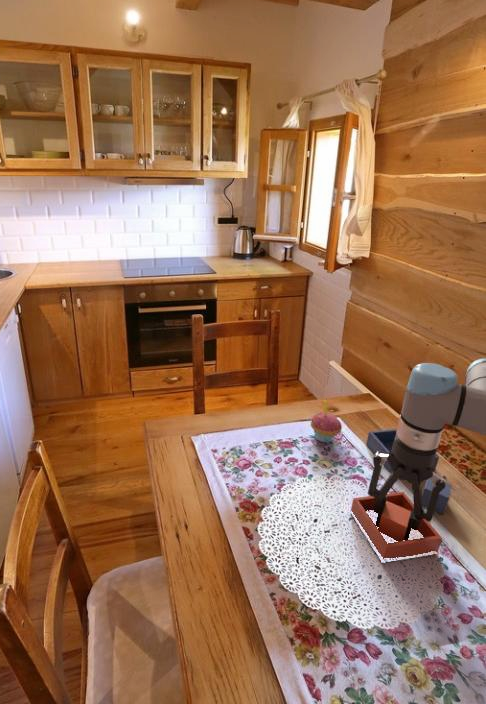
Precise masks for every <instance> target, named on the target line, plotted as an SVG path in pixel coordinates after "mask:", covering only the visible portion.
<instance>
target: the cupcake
mask: <svg viewBox="0 0 486 704" xmlns="http://www.w3.org/2000/svg"><path fill="white" fill-rule="evenodd" d="M323 410H324V411H323V412H319V413H316V414H314V415H313V416H312V417H311V422H310V428H312V430H313V432H314V437H315V439H316V440H317V441H319V442H321V443H330V442H331V441H332V440H333V439H334V437H335V436H336V435H338V434H339V433H341V432H342V429H343V427H342V426H343V425H342V423H341V421H340V420H339V419H338V418H337V416H335V415H334V414H330V413H328V412H327V411H328V400H327V399H325V400H324V409H323Z"/></svg>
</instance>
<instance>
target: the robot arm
mask: <svg viewBox="0 0 486 704" xmlns="http://www.w3.org/2000/svg"><path fill="white" fill-rule="evenodd" d="M458 380H459V377H458V374H457V373H456V372H455V371H454V370H453V369H451V368H449V367H445V366H444V365H441V364H438V363H433V362H422V363H419V364H416V365H415V366H414V367H413V368H412V370H411V373H410V375H409V379H408V381H407V382H408V383H407V386H406V389H405V394H404V398H403V402H402V407H401V411H400V415H399V419H398V423H397V427H396V429H397V431H396V435H395V439H394V443H393V447H392V451H391V452H389V454H382V453H381V452H380V451H376V453H375V455H374V454H373V458H372V462H373V470H372V474H371V478H370V483H369V486H368V490H367V496H373V497H374V498H375V499H376V501H375V505H374V512H376V513H378V517H377V521H376V525H375V526H377V527H379V524H380V520H381V516H382V513H383V510H384V508H385V505H386V501H387V497H385V496H386V495H387V494H389V492H390V491H391V489H392V488H393V487H394V486H395V484H396V483H397V481H398V480H400V481H406V483H408V484H410V485H411V489H412V498H413V500H412V503H413V504H414V509H412V511H411V515H410V518H409V522H408V526H407V530H406V533H405V537H404V540H405V541H407V540H408V538H409V534H410V531H411V528H412V529H414V530H417V529H418V527H419V523H420V520H421V519H425V520H426V521H428V522H429V523H431V522H432V520H433V517H434V514H435V511H434V510H435V507H436V503H437V500H438V496H439V493H440V492H441V491H442V490H443V489H444V488H445V485H446V483H447V481H448V480H447V476H445V475H439V474H437V472H435V471H434V469H433V462H434V459H435V455H437V452H438V447H439V445H440V441H441V438H442V436H443V435H442V434H443V432H444V429H445V428H444V427H445V424H446V425H447V424H448V425H451V426H454V427H458V428H460V429H464V430H467V431H470V432H474V433H477V434H479V435H483V436H486V357H485V358H479V359H476V360H474V361H473V362H472V363H470V365H469V366H468V368H467V370H466V374H465V377H464V383H465V384H462V383H458ZM386 461H388V463H389V465H390V467H391V469H392V473H391V474H390V473H389V476H388V477H387V478H386V480H385V481H384V483H383V485H382V486H381V487H380V489H379V488H378V487H377V486H378V484H379V479H380V476H381V472H382V467H383V466H384V464H385V462H386ZM429 478H431V479H432V485H433V489H432V492H431V496H430V500H429V503H428V507H427V508H426V509H425V508H424V507H423V504H422V494H423V487H422V483H423V482H426V480H427V479H429Z"/></svg>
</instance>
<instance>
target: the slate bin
mask: <svg viewBox="0 0 486 704" xmlns="http://www.w3.org/2000/svg"><path fill="white" fill-rule="evenodd" d="M396 431H397V428H393V429H382V430H381V429H380V430H372V431H368V434H367V438H366V443H365V445H366V446H367V448H368V449H369V450H370V452H372V454H373V456H374V455H375V453H376V451H380V452H381V453H382V454H389V452H391V451H392V447H393V443H394V439H395V435H396ZM439 460H440V456H439V455H438V454H436V455H435V459H434V462H433V469H434V472H435V471H436V469H437V467H438V462H439ZM383 467H384V468H385V470H387V472H388V473H389V475H390V474H391V473H392V469H391V467H390V465H389V463H388V461H386V462H385V464H384V465H383Z"/></svg>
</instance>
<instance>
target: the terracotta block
mask: <svg viewBox="0 0 486 704" xmlns="http://www.w3.org/2000/svg"><path fill="white" fill-rule="evenodd" d="M410 515H411V511H409V510H406V509H404V508H402V507H400V506H397V505H395V504H393V503H391V502H388V501H387V502H386V505H385V508H384V510H383V513H382V516H381V520H380V524H379V528H378V530H379V532H381V533H383V534H385V535H387V536H389V537H391V538H393V539H394V540H396V541H398V542H401V541H403V540H404V537H405V533H406V530H407V526H408V522H409V518H410Z"/></svg>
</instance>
